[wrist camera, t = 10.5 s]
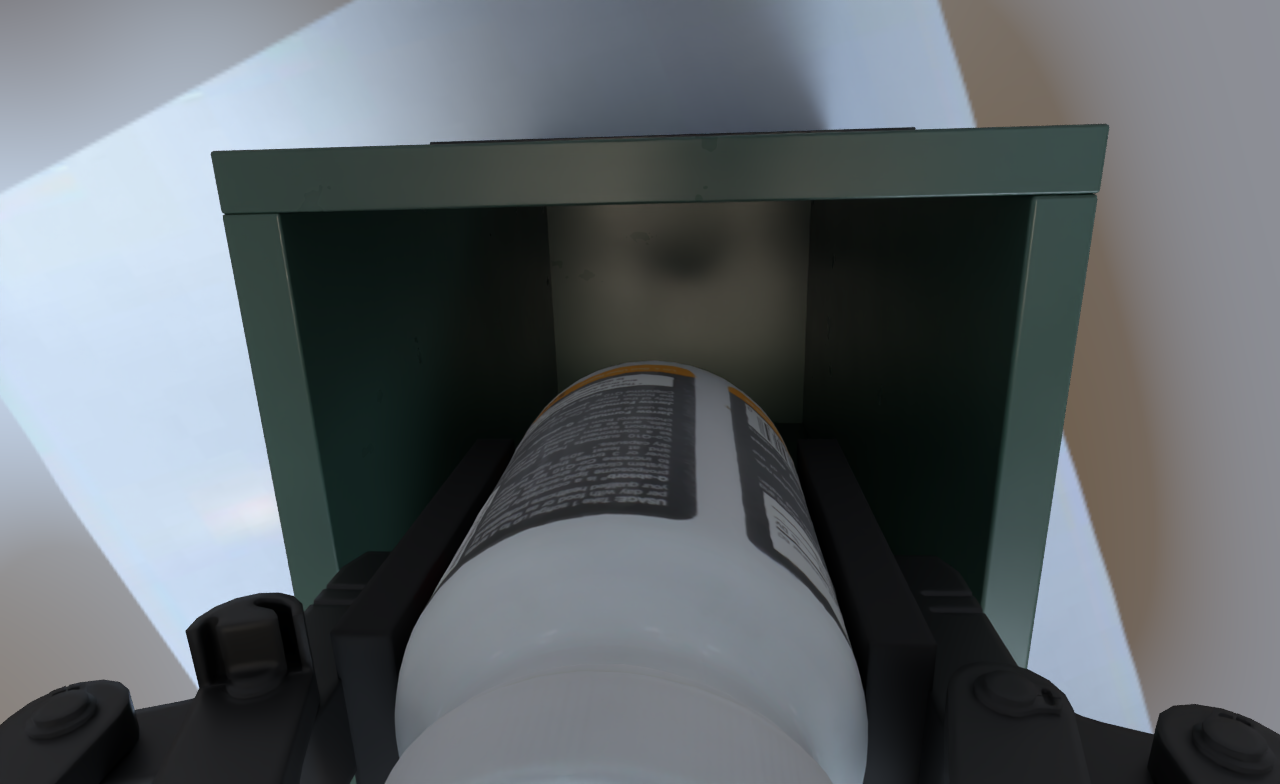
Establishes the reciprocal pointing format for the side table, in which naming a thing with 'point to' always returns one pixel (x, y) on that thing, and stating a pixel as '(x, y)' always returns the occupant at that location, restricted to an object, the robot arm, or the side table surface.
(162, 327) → the side table surface
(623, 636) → the pill bottle
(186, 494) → the side table surface
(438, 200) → the green banded storage bin
